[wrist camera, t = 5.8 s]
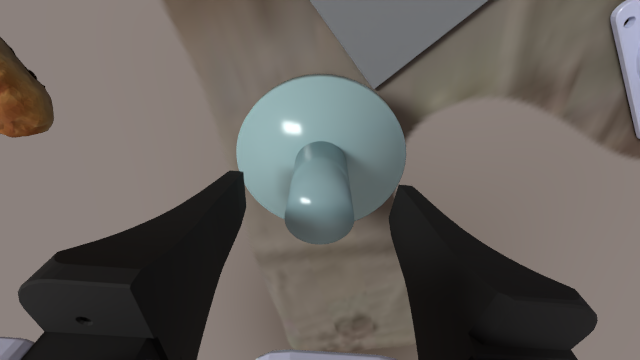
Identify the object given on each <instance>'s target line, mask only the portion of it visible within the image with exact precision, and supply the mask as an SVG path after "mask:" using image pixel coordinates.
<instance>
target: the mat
mask: <svg viewBox="0 0 640 360" xmlns="http://www.w3.org/2000/svg"><path fill="white" fill-rule="evenodd" d="M310 1H311V3H312V4H313V6H314V7H315V8H316V10H317V11H318V13H319V14H320V15H321V17H322V18H323V20H324V21H325V22H326V24H327V25H328V27H329V28H330V29H331V31H332V32H333V34H334V35H335V36H336V38H337V39H338V41H339V42H340V43H341V45H342V46H343V48H344V49H345V50H346V52H347V53H348V55H349V56H350V57H351V59H352V60H353V62H354V63H355V64H356V66H357V67H358V69H359V70H360V71H361V73H362V74H363V76H364V77H365V78H366V80H367V81H368V83H369V84H370V85H371V87H372V88H373V90H374V89H375V88H376V87H377V86H379V85H380V84H381V83H383V82H384V81H385V80H386V79H388V78H389V77H390V76H392V75H393V74H394V73H395V72H397V71H398V70H399V69H401V68H402V67H403V66H404V65H406V64H407V63H408V62H410V61H411V60H412V59H413V58H415V57H416V56H417V55H419V54H420V53H421V52H422V51H424V50H425V49H426V48H428V47H429V46H430V45H431V44H433V43H434V42H435V41H437V40H438V39H439V38H440V37H442V36H443V35H444V34H446V33H447V32H448V31H449V30H451V29H452V28H453V27H454V26H456V25H457V24H458V23H460V22H461V21H462V20H463V19H465V18H466V17H467V16H469V15H470V14H471V13H472V12H474V11H475V10H476V9H478V8H479V7H480V6H481V5H483V4H484V3H485V2H487V1H488V0H310Z"/></svg>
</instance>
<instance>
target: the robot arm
mask: <svg viewBox="0 0 640 360" xmlns="http://www.w3.org/2000/svg"><path fill="white" fill-rule="evenodd" d="M628 18H629V19H628ZM627 19H628V22H627V24H626V25H625V26H624V22H625V21H626V20H627ZM611 25H612V29H613V34H614V38H615V43H616V47H617V52H618V56H619V61H620V65H621V69H622V74H623V78H624V83H625V87H626V92H627V96H628V101H629V105H630V109H631V114H632V118H633V123H634V127H635V132H636V136H637V138H639V139H640V0H626V1H625V2H623V3H621V4H620V5H619V6H618V7H616V8H615V10H614V11H613V12H612V15H611ZM245 209H246V198H245V185H244V173H243V172H241V171H229V172H227V173H226V174H225V175H223V176H222V177H220V178H219V179H218V180H216V181H215V182H213V183H212V184H211V185H209V186H208V187H207V188H205V189H204V190H202V191H201V192H200V193H198V194H196V195H195V196H193V197H192V198H190V199H189V200H187V201H185V202H184V203H182V204H180V205H179V206H177V207H175V208H174V209H172V210H170V211H168V212H166V213H164V214H162V215H160V216H158V217H156V218H154V219H151V220H149V221H147V222H145V223H142V224H140V225H138V226H135V227H133V228H131V229H128V230H125V231H123V232H120V233H117V234H115V235H112V236H109V237H106V238H103V239H100V240H97V241H94V242H90V243H87V244H83V245H80V246H77V247H73V248H70V249H66V250H62V251H59V252H57V253H56V254H55V255H54V256H53V257H52V258H51V259H49V260H48V261H47V262H46V263H45V264H44V265H43V266H42V267H41V268H40V269H39V270H38V271H37V272H35V273H34V274H33V275H32V276H31V277H30V278H29V279H28V280H27V281H26V282H25V283H24V284H22V285H21V287H20V289H19V291H18V296H19V301H20V303H21V305H22V306H23V308H24V309H25V310H26V311H27V312H28V314H29V315H30V316H31V317H32V318H33V319H34V320H35V321H36V322H37V324H38V325H39V326H40V327H41V328H42V329H43V330H44V331H45V332H44V333H43V334H42V335H41V336H40V338H39V339H38V340H37V341H36V342H35V343H34V342H32V341H30V340H27V339H22V338H10V337H0V360H197V356H198V352H199V347H200V344H201V340H202V336H203V332H204V329H205V325H206V321H207V317H208V314H209V310H210V307H211V304H212V300H213V296H214V293H215V290H216V287H217V284H218V280H219V277H220V274H221V272H222V269H223V266H224V263H225V261H226V259H227V257H228V255H229V252H230V250H231V248H232V245H233V243H234V241H235V238H236V236H237V234H238V231H239V229H240V227H241V224H242V220H243V217H244V213H245ZM389 224H390V230H391V236H392V240H393V243H394V247H395V250H396V253H397V257H398V260H399V263H400V266H401V269H402V273H403V276H404V279H405V283H406V287H407V292H408V297H409V302H410V307H411V313H412V319H413V325H414V331H415V338H416V345H417V352H418V360H578V359H577V358H576V357H575V355H574V354H573V352H572V351H571V349H572V348H573V347H574V346H575V345H577V344H578V343H579V342H580V341H582V340H583V339H584V338H585V337H587V336H588V335H589V334H590V333H591V332H592V331H593V330H594V328H595V326H596V324H597V315H596V313H595V312H594V311H593V310H592V309H591V308H590V306H589V305H588V304H587V303H586V302H585V300H584V299H583V298H582V297H581V296H580V295H579V293H578V292H577V291H576V290H575V289H573V288H571V287H569V286H566V285H564V284H562V283H559V282H557V281H555V280H552V279H550V278H548V277H545V276H543V275H541V274H539V273H536V272H534V271H533V270H530V269H528V268H527V267H525V266H522V265H520V264H519V263H517V262H515V261H513V260H511V259H509V258H507V257H506V256H504V255H502V254H500V253H499V252H497V251H495V250H493V249H492V248H490V247H488V246H487V245H485V244H484V243H482V242H481V241H479V240H478V239H476V238H475V237H473V236H472V235H470V234H469V233H467V232H466V231H465V230H463V229H462V228H460V227H459V226H458V225H457V224H456V223H454V222H453V221H452V220H450V219H449V218H448V217H447V216H446V215H444V214H443V213H442V212H441V211H440V210H439V209H437V208H436V207H435V206H434V205H433V204H432V203H431V202H430V201H428V200H427V199H426V198H425V197H424V196H423V195H422V194H421V193H420V192H418V191H417V190H416V189H415V188H414V187H412V186H407V185H399V186H398V189H397V192H396V196H395V199H394V202H393V206H392V209H391V212H390V216H389ZM255 360H396V359H395V358H390V357H385V356H380V355H369V354H353V353H338V352H322V351H306V350H276V351H271V352H268V353H266V354H264V355H261V356H259V357H258V358H257V359H255Z"/></svg>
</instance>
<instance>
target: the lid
mask: <svg viewBox="0 0 640 360" xmlns="http://www.w3.org/2000/svg"><path fill="white" fill-rule="evenodd" d="M405 160H406V144H405V139H404V135H403V132H402V129H401V127H400V124H399V122H398V120H397V119H396V117H395V115H394V114H393V112H392V110H391V109H390V108H389V106H388V105H387V104H386V102H385V101H384V100H383V99H382V98H381V97H380V96H379V95H378V94H377V93H375V92H374V91H373V90H371V89H370V88H368V87H367V86H365V85H363V84H361V83H359V82H357V81H355V80H352V79H349V78H346V77H343V76H338V75H332V74H311V75H304V76H300V77H295V78H292V79H290V80H287V81H285V82H283V83H281V84H279V85H277V86H275V87H274V88H272V89H271V90H270V91H268V92H267V93H266V94H264V95H263V96H262V97H261V98H260V99H259V100H258V102H257V103H256V104H255V105H254V107H253V108H252V110H251V111H250V112H249V114H248V115H247V117H246V118H245V120H244V122H243V124H242V126H241V129H240V133H239V136H238V141H237V163H238V168H239V171H241V172H243V173H244V184H245V185H246V187H247V188H248V190H249V192H250V193H251V194H252V195H253V197H254V198H255V199H256V200H257V201H258V202H259V203H260V204H261V205H262V206H263V207H265V208H266V209H267V210H269V211H270V212H272V213H273V214H275V215H277V216H279V217H281V218H283V219H285V224H286V226H287V228H288V230H289V231H290V232H291V233H292V234H293V235H294V236H295V237H296V238H298V239H300V240H302V241H304V242H307V243H311V244H329V243H333V242H336V241H338V240H340V239H342V238H343V237H345V236H346V235H347V234H348V233H349V232H350V230H351V229H352V227H353V224H354V221H356V220H359V219H361V218H363V217H365V216H367V215H369V214H370V213H372V212H373V211H375V210H376V209H377V208H379V207H380V206H381V205H382V204H383V203H384V202H385V201H386V200H387V199H388V198H389V197H390V196H391V194H392V193H393V192H394V190H395V189H396V187H397V185H398V183H399V181H400V179H401V176H402V174H403V170H404V166H405Z"/></svg>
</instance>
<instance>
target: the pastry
mask: <svg viewBox="0 0 640 360" xmlns="http://www.w3.org/2000/svg"><path fill="white" fill-rule="evenodd" d="M53 120H54V116H53V106H52V101H51V98H50V96H49V94H48V93H47V91H46V89H45V86H44V85H42V84H41V83H40V82H39V81H38V80H37V77H36V75H35V74H34V73H33V72H32V71H31V70H28V69H27V68H26V67H25V66H24V65H23V63H22V62H21V61H20V60H19V59H18V57H17V56H16V55H15V53H14V51H13V49H12V48H11V47H10V46H8V45H7V44H6V42H5V41H4V40H3V39H2V38H1V37H0V134H4V135H6V136H9V137H21V136H30V135H34V134H38V133H43V132H45V131H48V129H49V128H50V127H51V125H52V123H53Z"/></svg>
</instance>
